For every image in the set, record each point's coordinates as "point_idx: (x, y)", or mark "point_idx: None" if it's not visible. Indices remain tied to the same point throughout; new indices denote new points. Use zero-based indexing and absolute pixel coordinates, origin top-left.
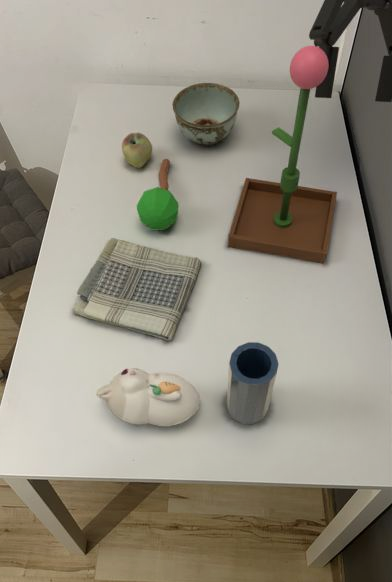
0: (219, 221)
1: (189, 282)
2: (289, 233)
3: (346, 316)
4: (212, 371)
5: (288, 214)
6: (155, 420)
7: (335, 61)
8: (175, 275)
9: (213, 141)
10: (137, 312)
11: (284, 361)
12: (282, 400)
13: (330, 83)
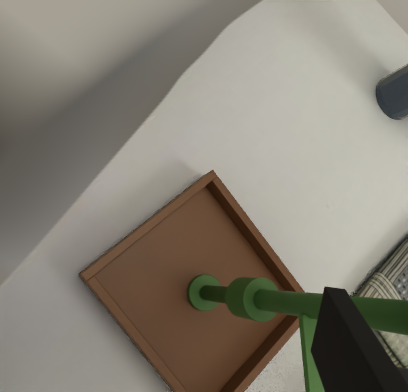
0: (283, 366)
1: (390, 270)
2: (211, 260)
3: (240, 89)
4: (403, 154)
5: (192, 294)
6: None
7: (383, 374)
8: (400, 294)
9: None
10: None
11: (338, 104)
12: (363, 75)
13: (358, 316)
